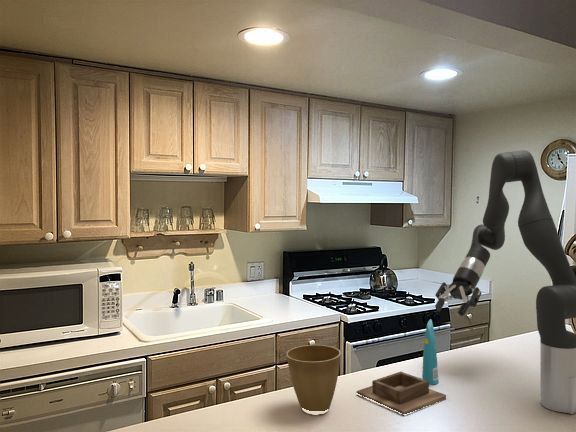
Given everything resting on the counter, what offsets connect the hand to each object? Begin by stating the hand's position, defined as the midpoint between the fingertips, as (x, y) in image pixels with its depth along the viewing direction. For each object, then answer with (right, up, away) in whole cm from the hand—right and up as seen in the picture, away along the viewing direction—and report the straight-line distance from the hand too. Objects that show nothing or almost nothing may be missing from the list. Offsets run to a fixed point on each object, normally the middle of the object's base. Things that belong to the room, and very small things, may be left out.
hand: (448, 312), depth 156 cm
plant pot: (-45, -22, -24) cm, 55 cm away
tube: (-8, -21, -5) cm, 23 cm away
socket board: (-19, -21, -16) cm, 33 cm away
